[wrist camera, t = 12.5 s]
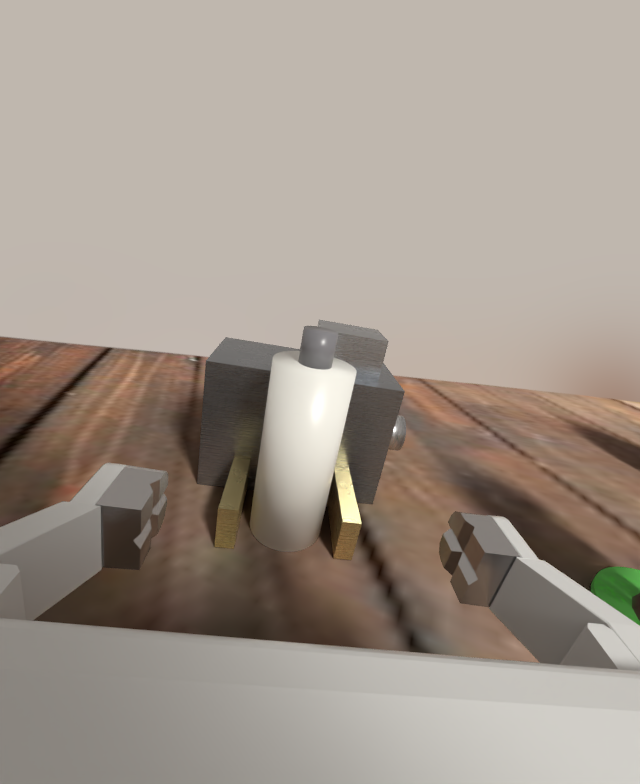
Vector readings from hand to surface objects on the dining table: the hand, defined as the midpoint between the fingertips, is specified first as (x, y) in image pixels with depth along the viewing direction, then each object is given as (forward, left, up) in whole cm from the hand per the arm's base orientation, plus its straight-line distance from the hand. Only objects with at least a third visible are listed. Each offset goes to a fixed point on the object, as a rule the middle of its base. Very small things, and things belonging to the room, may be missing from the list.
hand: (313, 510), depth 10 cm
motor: (+1, +16, -11) cm, 20 cm away
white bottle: (0, +12, -11) cm, 16 cm away
